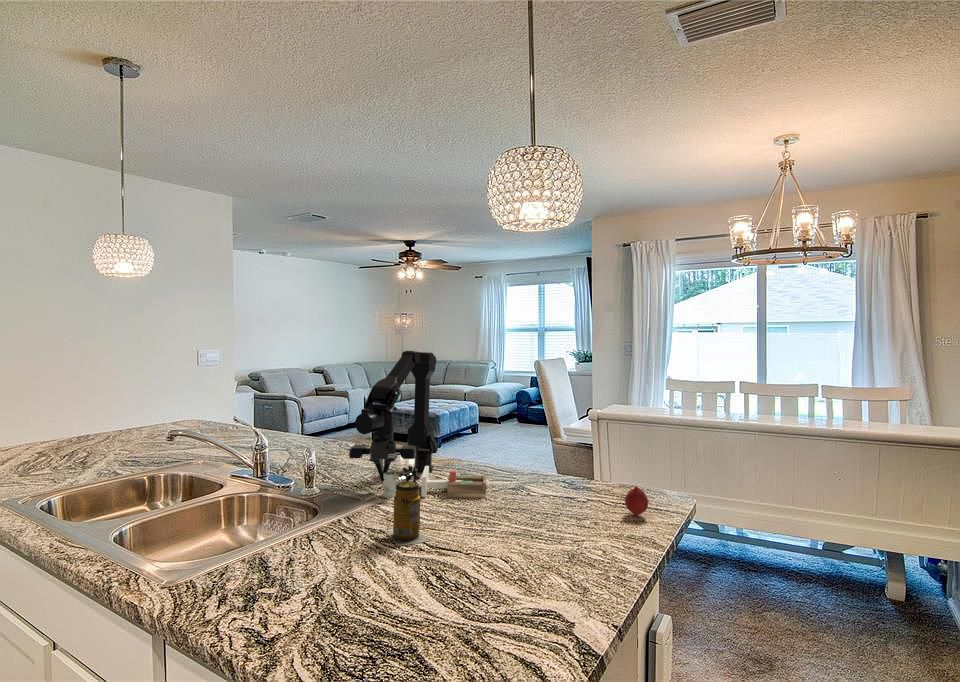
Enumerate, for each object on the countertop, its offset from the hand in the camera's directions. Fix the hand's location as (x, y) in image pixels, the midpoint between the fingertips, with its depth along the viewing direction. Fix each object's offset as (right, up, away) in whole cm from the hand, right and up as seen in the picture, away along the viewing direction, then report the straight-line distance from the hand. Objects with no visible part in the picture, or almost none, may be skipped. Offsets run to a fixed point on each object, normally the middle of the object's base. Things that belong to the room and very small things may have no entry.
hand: (382, 480), depth 150 cm
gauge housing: (+24, -3, +1) cm, 25 cm away
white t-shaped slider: (+18, -3, 0) cm, 18 cm away
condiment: (+12, -4, -33) cm, 35 cm away
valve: (+5, -3, -1) cm, 6 cm away
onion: (+69, -5, -16) cm, 71 cm away
